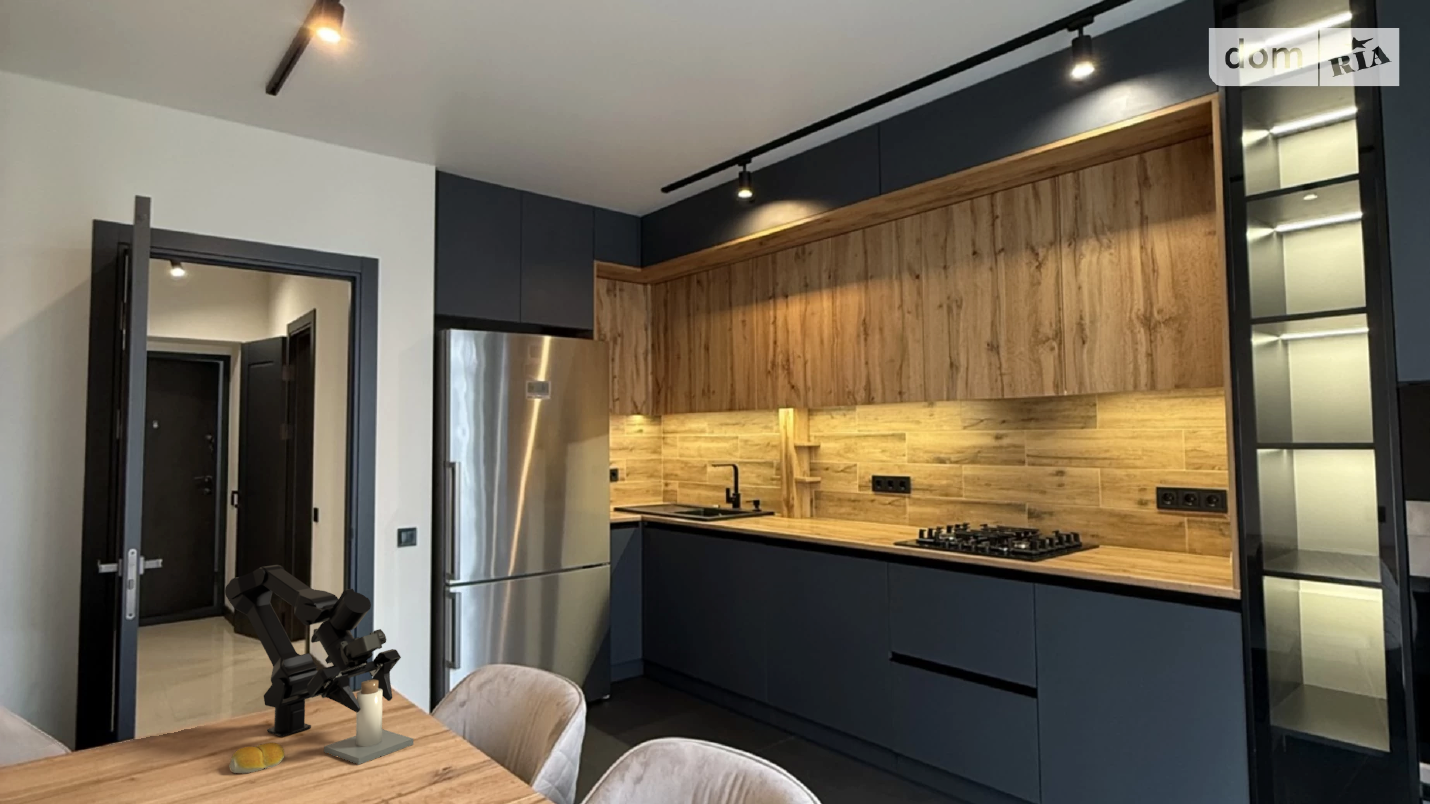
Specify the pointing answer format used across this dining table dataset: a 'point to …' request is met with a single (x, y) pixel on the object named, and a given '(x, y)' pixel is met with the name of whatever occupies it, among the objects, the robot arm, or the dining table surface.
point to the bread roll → (256, 758)
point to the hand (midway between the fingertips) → (375, 705)
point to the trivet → (368, 747)
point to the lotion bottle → (369, 714)
